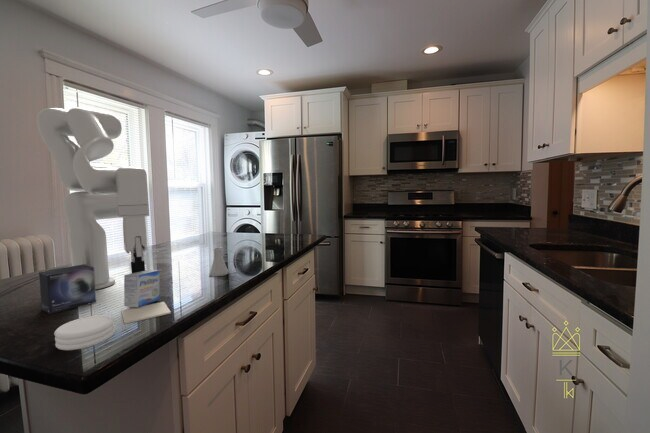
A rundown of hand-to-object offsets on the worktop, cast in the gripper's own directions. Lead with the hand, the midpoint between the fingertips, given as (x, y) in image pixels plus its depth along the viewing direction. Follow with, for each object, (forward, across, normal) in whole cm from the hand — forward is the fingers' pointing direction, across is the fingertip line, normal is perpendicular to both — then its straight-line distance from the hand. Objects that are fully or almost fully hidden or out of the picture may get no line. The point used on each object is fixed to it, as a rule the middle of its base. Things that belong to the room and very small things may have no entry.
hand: (138, 274), depth 89 cm
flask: (+8, -13, +27) cm, 31 cm away
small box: (+8, -7, -16) cm, 19 cm away
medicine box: (+7, +5, 0) cm, 9 cm away
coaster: (+8, +20, -12) cm, 25 cm away
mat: (+7, +12, 0) cm, 14 cm away
